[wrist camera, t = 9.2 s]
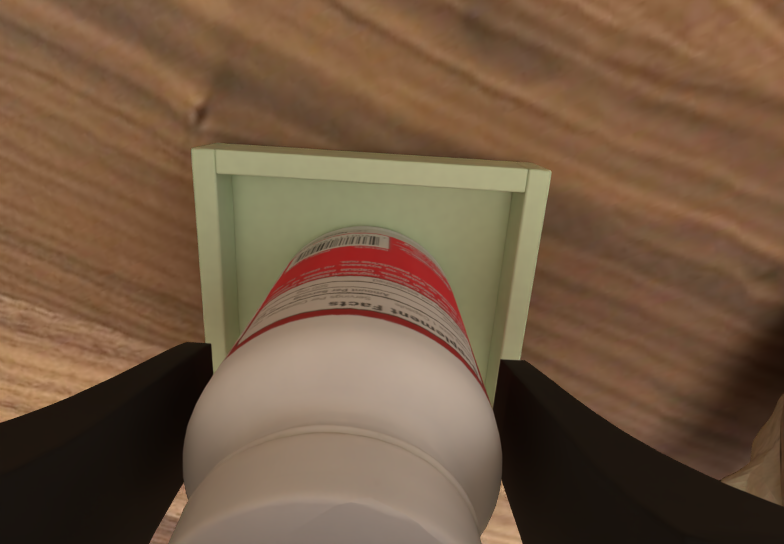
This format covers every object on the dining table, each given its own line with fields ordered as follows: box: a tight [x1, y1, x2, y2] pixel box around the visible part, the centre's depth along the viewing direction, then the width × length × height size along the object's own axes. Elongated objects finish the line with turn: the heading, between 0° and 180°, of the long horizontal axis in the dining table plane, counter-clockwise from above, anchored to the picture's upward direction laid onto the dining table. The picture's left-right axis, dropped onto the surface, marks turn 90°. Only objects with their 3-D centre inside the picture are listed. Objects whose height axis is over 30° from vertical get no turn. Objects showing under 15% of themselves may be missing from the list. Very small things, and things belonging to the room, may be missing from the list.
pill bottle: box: [168, 226, 502, 544], centre depth 11 cm, size 6×6×11 cm
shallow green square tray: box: [191, 143, 552, 409], centre depth 16 cm, size 10×10×2 cm
